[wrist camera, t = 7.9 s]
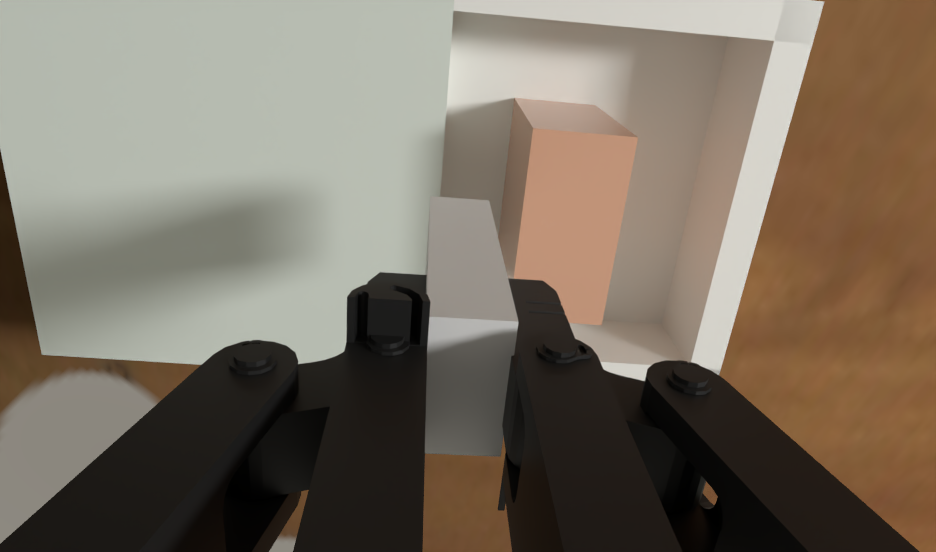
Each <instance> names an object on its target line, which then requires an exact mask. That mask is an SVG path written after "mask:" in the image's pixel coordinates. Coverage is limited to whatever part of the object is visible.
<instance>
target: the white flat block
mask: <svg viewBox="0 0 936 552" xmlns="http://www.w3.org/2000/svg"><path fill="white" fill-rule="evenodd" d="M453 11H454V0H0V150H1V155H2V160H3V165H4V170H5V175H6V180H7V185H8V190H9V195H10V200H11V205H12V210H13V215H14V220H15V224H16V229H17V234H18V239H19V244H20V249H21V254H22V259H23V264H24V269H25V274H26V279H27V284H28V289H29V294H30V299H31V304H32V308H33V313H34V318H35V323H36V328H37V333H38V338H39V343H40V348H41V353H42V355H55V356H71V357H87V358H103V359H119V360H136V361H152V362H168V363H184V364H200V365H202V364H203V363H204V362H205V361H206V360H208V359H209V358H210V357H211V356H212V355H213V354H215V353H216V352H218V351H220V350H221V349H223V348H224V347H227V346H230V345H233V344H237V343H240V342H243V341H252V340H262V341H272V342H276V343H280V344H283V345H286V346H288V347H289V348H290V349H292V350H293V351H294V352H295V353H296V356H297V359H298V364H302V363H310V362H316V361H321V360H326V359H329V358H332V357H335V356H337V355H339V354H341V353H343V352H344V350H345V346H346V337H347V296H348V295H349V294H350V292H351V291H352V290H354V289H356V288H358V287H360V286H362V285H366V284H367V283H368V281H369V280H371V279H372V278H373V277H374V276H376V275H377V274H378V273H380V272H386V273H402V274H418V275H425V270H426V255H427V240H428V225H429V209H430V196H435V197H440V192H441V178H442V164H443V150H444V136H445V122H446V108H447V94H448V80H449V67H450V53H451V39H452V25H453Z"/></svg>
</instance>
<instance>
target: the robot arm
mask: <svg viewBox="0 0 936 552" xmlns="http://www.w3.org/2000/svg"><path fill="white" fill-rule="evenodd" d="M503 435H504V441H505V448H506V454H505V461H504V468H503V476H502V483H501V490H500V497H499V505H498V510H504V509H505V504H506V507H507V515H508V522H509V530H510V538H511V546H512V552H919V551H918V550H917V549H916V548H915V547H914V546H912V545H911V544H910V543H909V542H908V541H907V540H906V539H904V538H903V537H902V536H901V535H900V534H899V533H898V532H897V531H895V530H894V529H893V528H892V527H891V526H890V525H889V524H888V523H886V522H885V521H884V520H883V519H882V518H881V517H880V516H878V515H877V514H876V513H875V512H874V511H873V510H872V509H871V508H869V507H868V506H867V505H866V504H865V503H864V502H863V501H861V500H860V499H859V498H858V497H857V496H856V495H855V494H854V493H852V492H851V491H850V490H849V489H848V488H847V487H846V486H844V485H843V484H842V483H841V482H840V481H839V480H838V479H837V478H835V477H834V476H833V475H832V474H831V473H830V472H829V471H827V470H826V469H825V468H824V467H823V466H822V465H821V464H820V463H818V462H817V461H816V460H815V459H814V458H813V457H812V456H810V455H809V454H808V453H807V452H806V451H805V450H804V449H803V448H801V447H800V446H799V445H798V444H797V443H796V442H795V441H793V440H792V439H791V438H790V437H789V436H788V435H787V434H786V433H784V432H783V431H782V430H781V429H780V428H779V427H778V426H776V425H775V424H774V423H773V422H772V421H771V420H770V419H769V418H767V417H766V416H765V415H764V414H763V413H762V412H761V411H759V410H758V409H757V408H756V407H755V406H754V405H753V404H752V403H750V402H749V401H748V400H747V399H746V398H745V397H744V396H743V395H741V394H740V393H739V392H738V391H737V390H736V389H735V388H733V387H732V386H731V385H730V384H729V383H728V382H727V381H726V380H724V379H723V378H722V377H720V376H719V375H717V374H716V373H714V372H713V371H711V370H709V369H706V368H704V367H702V366H700V365H699V364H696V363H692V362H689V363H688V362H687V361H682V360H678V361H671V360H665V361H661V362H657V363H654V364H653V365H651V366H650V367H649V368H648V369H647V373H646V377H645V381H642V380H638V379H633V378H629V377H625V376H621V375H617V374H614V373H611V372H608V371H606V370H604V369H603V367H602V365H601V362H600V360H599V358H598V355H597V354H596V353H595V352H594V350H593V349H592V348H591V347H590V346H588V345H587V344H585V343H583V342H582V341H580V340H577V339H575V337H574V335H573V332H572V329H571V327H570V324H569V322H568V319H567V317H566V315H565V312H564V309H563V307H562V305H561V301H560V299H559V296H558V294H557V291H555V290H554V289H553V288H552V287H550V286H549V285H548V284H547V283H546V282H544V281H542V280H526V279H510V278H508V276H507V272H506V268H505V264H504V260H503V256H502V252H501V247H500V243H499V239H498V235H497V231H496V227H495V223H494V219H493V215H492V210H491V206H490V202H489V200H477V199H463V198H449V197H435V196H430V209H429V225H428V240H427V255H426V270H425V275H418V274H402V273H386V272H380V273H378V274H377V275H376V276H374V277H373V278H372V279H371V280H369V281H368V283H367V284H366V285H362V286H360V287H358V288H356V289H354V290H352V291H351V292H350V294H349V295H348V296H347V337H346V346H345V350H344V352H343V353H341V354H339V355H337V356H335V357H332V358H329V359H326V360H321V361H316V362H310V363H302V364H298V359H297V356H296V353H295V352H294V351H293V350H292V349H290V348H289V347H288V346H286V345H283V344H280V343H276V342H272V341H262V340H252V341H243V342H240V343H237V344H233V345H230V346H227V347H224V348H223V349H221V350H220V351H218V352H216V353H215V354H213V355H212V356H211V357H210V358H209V359H208V360H206V361H205V362H204V363H203V364H202V365H201V366H200V367H199V368H197V369H196V370H195V371H194V372H193V373H192V374H191V375H190V376H188V377H187V378H186V379H185V380H184V381H183V382H182V383H181V384H179V385H178V386H177V387H176V388H175V389H174V390H173V391H172V392H170V393H169V394H168V395H167V396H166V397H165V398H164V399H163V400H161V401H160V402H159V403H158V404H157V405H156V406H155V407H154V408H152V409H151V410H150V411H149V412H148V413H147V414H146V415H145V416H143V418H141V419H140V420H139V421H138V422H137V423H136V424H135V425H133V426H132V427H131V428H130V429H129V430H128V431H127V432H125V433H124V434H123V435H122V436H121V437H120V438H119V439H118V440H117V441H115V442H114V443H113V444H112V445H111V446H110V447H109V448H108V449H106V450H105V451H104V452H103V453H102V454H101V455H100V456H99V457H97V458H96V459H95V460H94V461H93V462H92V463H91V464H90V465H88V466H87V467H86V468H85V469H84V470H83V471H82V472H81V473H79V474H78V475H77V476H76V477H75V478H74V479H73V480H72V481H70V482H69V483H68V484H67V485H66V486H65V487H64V488H63V489H61V490H60V491H59V492H58V493H57V494H56V495H55V496H54V497H52V498H51V499H50V500H49V501H48V502H47V503H46V504H45V505H44V506H42V507H41V508H40V509H39V510H38V511H37V512H36V513H34V514H33V515H32V516H31V517H30V518H29V519H28V520H27V521H25V522H24V523H23V524H22V525H21V526H20V527H19V528H18V529H16V530H15V531H14V532H13V533H12V534H11V535H10V536H9V537H7V538H6V539H5V540H4V541H3V542H2V543H1V544H0V552H269V550H270V549H271V547H272V546H273V544H274V542H275V541H276V539H277V537H278V536H279V534H280V533H281V531H282V529H283V528H284V526H285V524H286V523H287V521H288V520H289V518H290V516H291V515H292V513H293V511H294V510H295V508H296V507H297V505H298V502H299V499H300V496H301V491H304V490H309V491H308V495H307V499H306V503H305V507H304V511H303V515H302V519H301V523H300V527H299V531H298V535H297V538H296V542H295V546H294V551H293V552H422V545H423V504H424V463H425V453H429V454H453V455H477V456H501V449H502V441H503ZM706 481H707V483H708V484H709V485H710V486H711V487H712V488H713V490H714V491H715V493H716V495H717V496H718V498H717V502H716V504H715V505H713V504H712V503H711V502H710V501H709V500H708V499H707V498H706V497H705V496H704V494H703V490H704V486H705V483H706Z"/></svg>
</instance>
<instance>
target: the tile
mask: <svg viewBox="0 0 936 552" xmlns="http://www.w3.org/2000/svg"><path fill="white" fill-rule="evenodd" d="M637 141H638V137H637V136H636V135H634V134H633V133H632V132H630V131H629V130H628V129H626V128H625V127H624V126H622V125H621V124H620V123H618V122H617V121H616V120H614V119H613V118H612V117H610V116H609V115H608V114H606V113H605V112H604V111H602V110H601V109H600V108H598V107H597V106H596V105H590V104H579V103H568V102H557V101H545V100H534V99H523V98H514V104H513V113H512V122H511V130H510V139H509V148H508V156H507V165H506V173H505V182H504V191H503V199H502V208H501V217H500V225H499V234H498V239H499V243H500V247H501V252H502V256H503V260H504V264H505V268H506V272H507V276H508V278H510V279H526V280H542V281H544V282H546V283H547V284H548V285H549V286H550V287H552V288H553V289H554V290H555V291H557V294H558V296H559V299H560V301H561V305H562V307H563V309H564V312H565V315H566V317H567V319H568V322H569V323H578V324H592V325H602V321H603V316H604V311H605V305H606V300H607V295H608V290H609V285H610V280H611V275H612V269H613V264H614V259H615V254H616V249H617V244H618V239H619V234H620V228H621V223H622V218H623V213H624V208H625V203H626V198H627V192H628V187H629V182H630V177H631V172H632V167H633V162H634V157H635V151H636V146H637Z"/></svg>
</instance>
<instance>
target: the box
mask: <svg viewBox="0 0 936 552" xmlns="http://www.w3.org/2000/svg"><path fill="white" fill-rule="evenodd" d="M823 4H824V2H821V1H811V0H454V11H453V25H452V39H451V53H450V67H449V80H448V94H447V108H446V122H445V136H444V150H443V164H442V178H441V192H440V197H449V198H463V199H477V200H489V202H490V206H491V210H492V215H493V219H494V223H495V227H496V231H497V235H498V234H499V225H500V217H501V208H502V199H503V191H504V182H505V173H506V165H507V156H508V148H509V139H510V130H511V122H512V113H513V104H514V98H523V99H534V100H545V101H557V102H568V103H579V104H590V105H596V106H597V107H598V108H600V109H601V110H602V111H604V112H605V113H606V114H608V115H609V116H610V117H612V118H613V119H614V120H616V121H617V122H618V123H620V124H621V125H622V126H624V127H625V128H626V129H628V130H629V131H630V132H632V133H633V134H634V135H636V136H637V137H638V141H637V146H636V151H635V157H634V162H633V167H632V172H631V177H630V182H629V187H628V192H627V198H626V203H625V208H624V213H623V218H622V223H621V228H620V234H619V239H618V244H617V249H616V254H615V259H614V264H613V269H612V275H611V280H610V285H609V290H608V295H607V300H606V305H605V311H604V316H603V321H602V325H592V324H578V323H569V324H570V327H571V329H572V332H573V335H574V337H575V339H577V340H580V341H582V342H583V343H585V344H587V345H588V346H590V347H591V348H592V349H593V350H594V352H595V353H596V354H597V355H598V358H599V360H600V362H601V365H602V367H603V369H604V370H606V371H608V372H611V373H614V374H617V375H621V376H625V377H629V378H633V379H638V380H642V381H645V377H646V373H647V369H648V368H649V367H650V366H651V365H653V364H654V363H657V362H661V361H665V360H671V361H678V360H682V361H687V362H688V363H689V362H692V363H696V364H699V365H700V366H702V367H704V368H706V369H709V370H711V371H713V372H714V373H716V374H717V375H719V373H720V370H721V366H722V363H723V359H724V356H725V352H726V349H727V345H728V342H729V338H730V334H731V331H732V327H733V324H734V320H735V317H736V313H737V310H738V306H739V302H740V299H741V295H742V292H743V288H744V285H745V281H746V278H747V274H748V271H749V267H750V263H751V260H752V256H753V253H754V249H755V246H756V242H757V239H758V235H759V232H760V228H761V224H762V221H763V217H764V214H765V210H766V207H767V203H768V200H769V196H770V193H771V189H772V185H773V182H774V178H775V175H776V171H777V168H778V164H779V161H780V157H781V153H782V150H783V146H784V143H785V139H786V136H787V132H788V129H789V125H790V122H791V118H792V114H793V111H794V107H795V104H796V100H797V97H798V93H799V90H800V86H801V83H802V79H803V75H804V72H805V68H806V65H807V61H808V58H809V54H810V51H811V47H812V43H813V40H814V36H815V33H816V29H817V26H818V22H819V19H820V15H821V12H822V8H823Z"/></svg>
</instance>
